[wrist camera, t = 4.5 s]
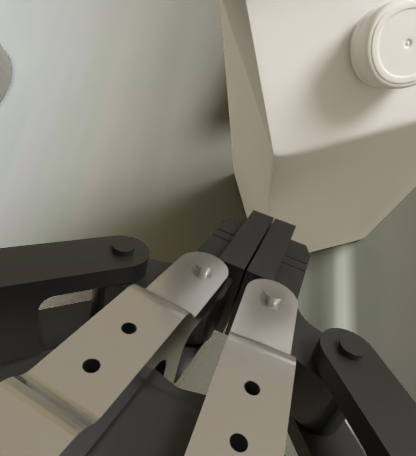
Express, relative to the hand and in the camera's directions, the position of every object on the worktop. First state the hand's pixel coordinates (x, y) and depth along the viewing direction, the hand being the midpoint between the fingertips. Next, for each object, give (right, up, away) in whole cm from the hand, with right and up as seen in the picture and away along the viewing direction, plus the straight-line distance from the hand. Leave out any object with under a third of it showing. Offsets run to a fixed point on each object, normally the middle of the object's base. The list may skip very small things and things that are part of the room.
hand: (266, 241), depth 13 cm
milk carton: (+4, +2, +14) cm, 15 cm away
